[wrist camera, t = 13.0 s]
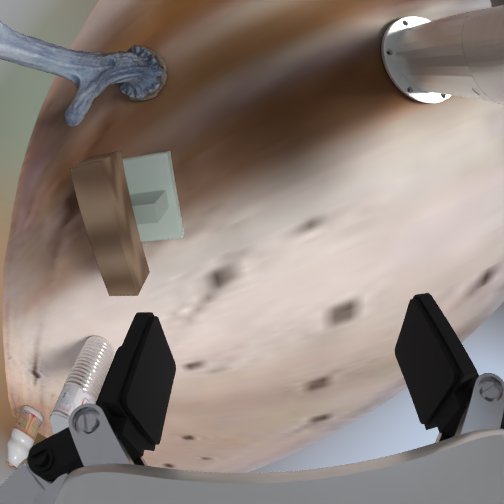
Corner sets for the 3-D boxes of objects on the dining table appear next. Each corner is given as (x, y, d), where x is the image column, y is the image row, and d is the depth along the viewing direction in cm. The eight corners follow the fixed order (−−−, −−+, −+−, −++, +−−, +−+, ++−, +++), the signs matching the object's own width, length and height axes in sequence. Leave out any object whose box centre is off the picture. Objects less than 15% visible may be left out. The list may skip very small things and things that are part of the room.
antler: (179, 69, 31) (61, 46, 10) (141, 117, 34) (3, 169, 12) (117, 26, 27) (-24, -9, 6) (83, 73, 30) (-66, 90, 9)
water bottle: (89, 329, 53) (40, 431, 31) (118, 344, 55) (77, 450, 33) (85, 347, 56) (42, 441, 34) (112, 361, 58) (76, 458, 36)
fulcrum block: (170, 150, 36) (154, 162, 31) (184, 233, 42) (174, 257, 37) (92, 165, 37) (68, 178, 31) (111, 239, 43) (93, 262, 37)
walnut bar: (91, 157, 30) (69, 168, 26) (120, 150, 30) (100, 161, 26) (123, 273, 38) (109, 295, 34) (149, 272, 38) (137, 295, 34)
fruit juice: (46, 417, 81) (24, 474, 57) (39, 419, 84) (19, 472, 60) (27, 403, 77) (2, 460, 53) (21, 406, 80) (-2, 459, 56)
